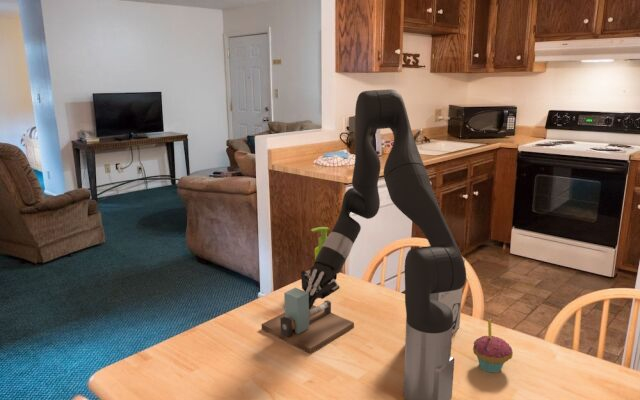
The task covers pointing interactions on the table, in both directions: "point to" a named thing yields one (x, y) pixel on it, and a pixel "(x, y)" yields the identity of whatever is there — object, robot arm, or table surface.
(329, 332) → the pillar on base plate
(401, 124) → the robot arm
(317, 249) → the soap dispenser
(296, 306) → the tall pale blue block
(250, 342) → the table surface
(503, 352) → the cupcake
